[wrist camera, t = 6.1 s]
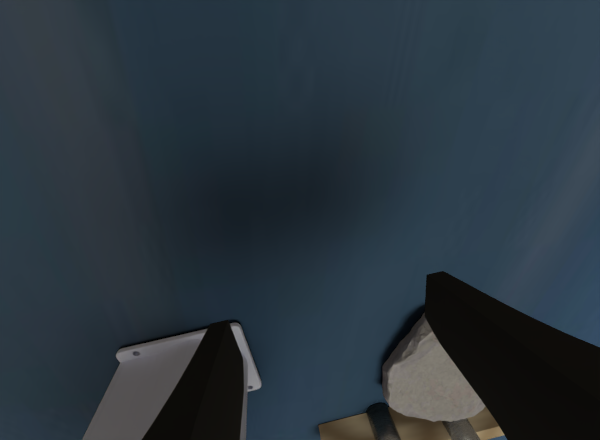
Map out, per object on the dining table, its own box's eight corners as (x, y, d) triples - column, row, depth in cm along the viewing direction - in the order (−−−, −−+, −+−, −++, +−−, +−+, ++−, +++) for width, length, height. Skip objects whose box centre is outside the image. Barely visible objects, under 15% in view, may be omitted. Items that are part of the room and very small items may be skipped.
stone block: (367, 372, 30) (457, 387, 30) (376, 418, 25) (482, 436, 26) (400, 281, 25) (505, 299, 26) (417, 317, 21) (545, 339, 21)
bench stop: (320, 434, 30) (331, 494, 26) (316, 418, 29) (327, 479, 24) (492, 391, 31) (531, 441, 27) (496, 373, 30) (538, 423, 25)
